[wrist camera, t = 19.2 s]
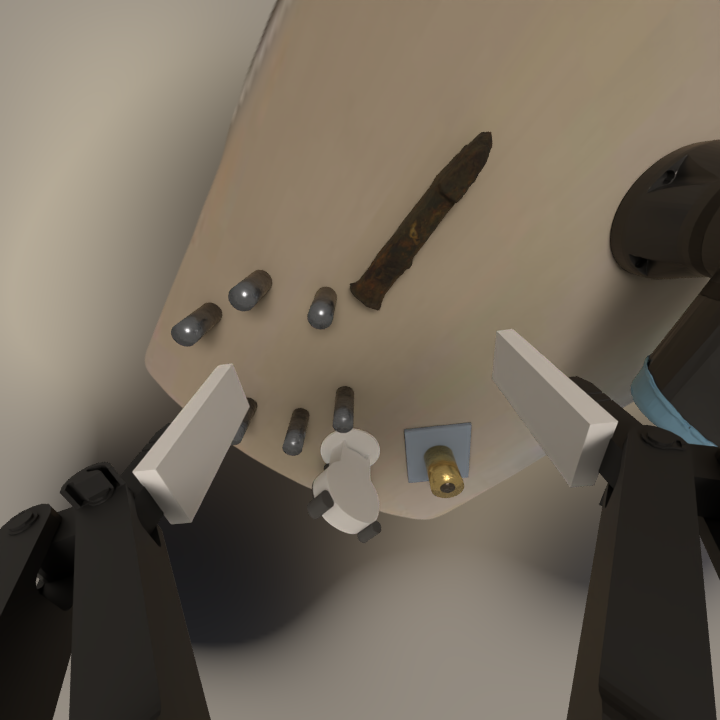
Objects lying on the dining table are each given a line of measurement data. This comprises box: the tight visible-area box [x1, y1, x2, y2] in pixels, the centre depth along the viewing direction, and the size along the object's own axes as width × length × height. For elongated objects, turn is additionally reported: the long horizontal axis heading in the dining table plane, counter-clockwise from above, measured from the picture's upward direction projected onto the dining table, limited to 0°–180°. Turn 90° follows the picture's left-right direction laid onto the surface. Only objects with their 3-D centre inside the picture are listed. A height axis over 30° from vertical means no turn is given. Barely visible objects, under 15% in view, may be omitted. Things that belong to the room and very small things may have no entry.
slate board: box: [404, 423, 471, 483], centre depth 58 cm, size 12×14×1 cm
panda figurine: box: [308, 428, 381, 543], centre depth 51 cm, size 12×11×15 cm
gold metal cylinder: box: [424, 445, 464, 498], centre depth 54 cm, size 6×6×7 cm
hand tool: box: [350, 132, 492, 310], centre depth 36 cm, size 23×5×6 cm, turn 141°
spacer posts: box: [171, 270, 354, 456], centre depth 44 cm, size 20×27×8 cm
